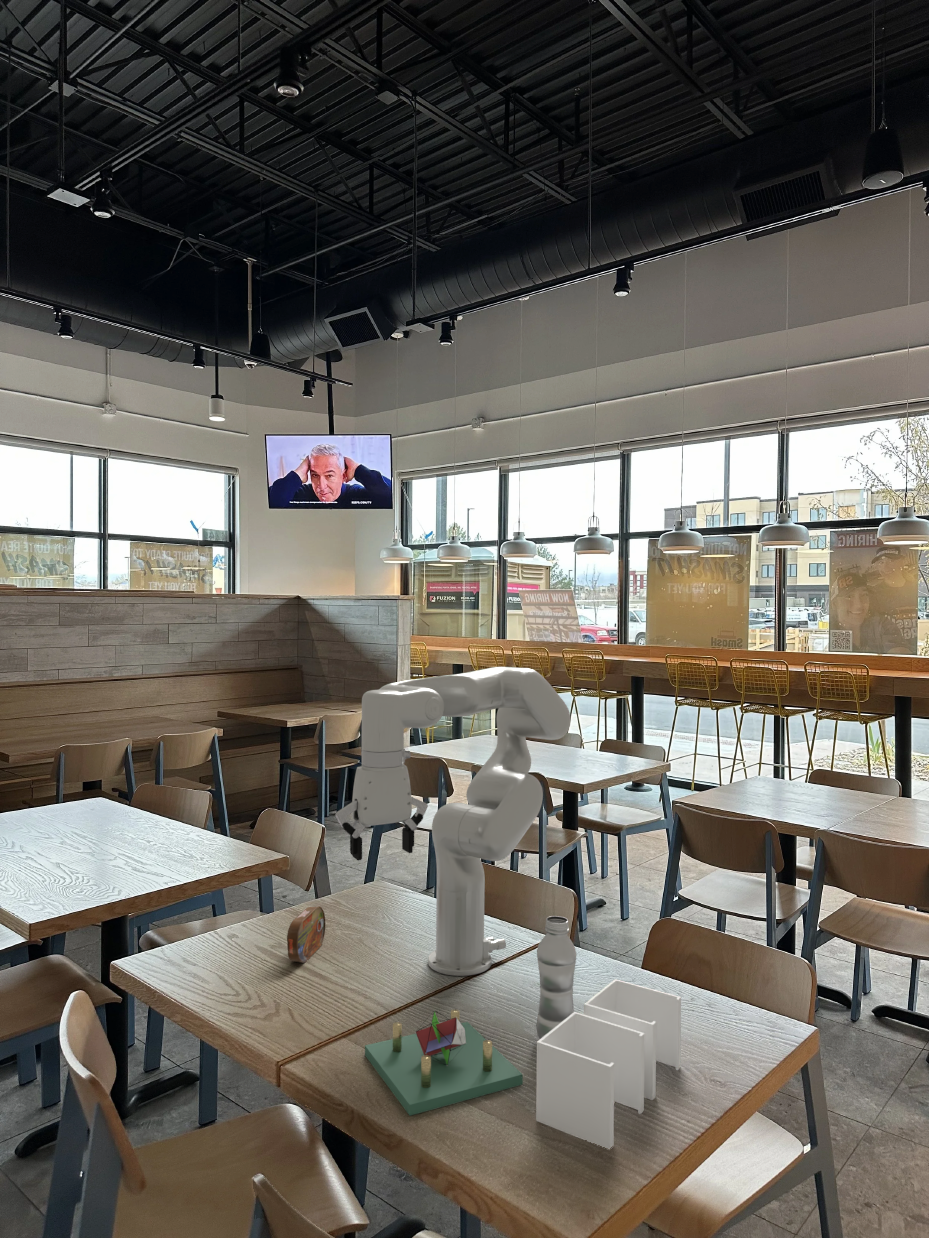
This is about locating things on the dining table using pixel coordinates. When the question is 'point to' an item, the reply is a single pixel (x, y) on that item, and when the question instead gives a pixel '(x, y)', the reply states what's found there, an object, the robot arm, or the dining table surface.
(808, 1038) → the dining table surface
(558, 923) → the plastic bottle
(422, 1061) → the brass standoffs
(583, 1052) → the white u-channel brackets
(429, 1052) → the geometric puzzle
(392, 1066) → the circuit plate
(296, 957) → the tin
